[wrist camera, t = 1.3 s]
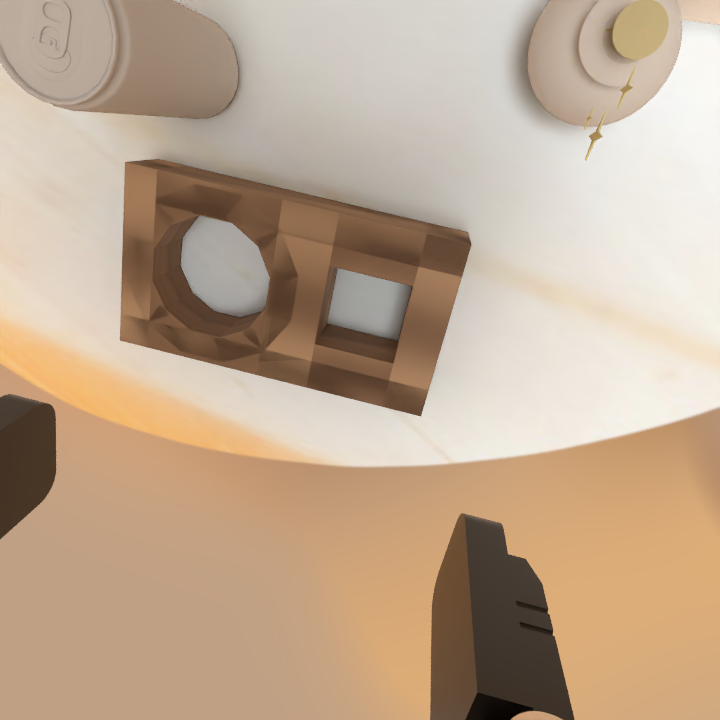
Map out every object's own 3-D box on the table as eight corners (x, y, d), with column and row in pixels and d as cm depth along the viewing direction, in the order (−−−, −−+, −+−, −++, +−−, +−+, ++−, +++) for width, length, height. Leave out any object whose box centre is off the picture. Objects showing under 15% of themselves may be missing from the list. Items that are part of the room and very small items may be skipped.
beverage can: (147, 98, 30) (-25, 77, 19) (166, 0, 28) (-14, -88, 17) (229, 133, 30) (106, 132, 19) (254, 37, 28) (132, -26, 17)
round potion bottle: (675, 5, 25) (812, -70, 16) (603, 170, 28) (683, 187, 19) (549, -32, 25) (612, -128, 16) (490, 136, 28) (515, 137, 19)
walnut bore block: (158, 159, 31) (125, 162, 27) (468, 232, 30) (471, 244, 27) (149, 321, 35) (120, 340, 32) (422, 389, 34) (420, 416, 31)
